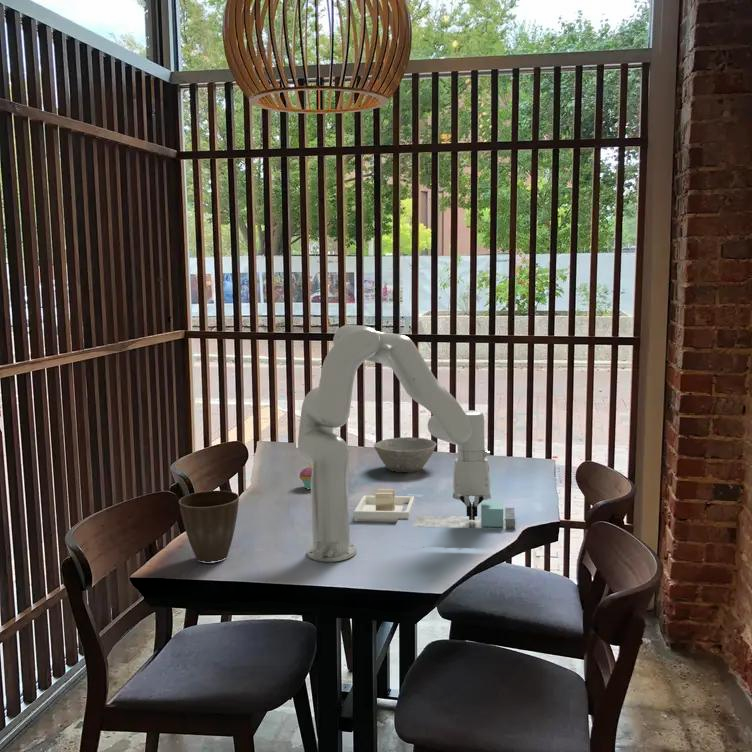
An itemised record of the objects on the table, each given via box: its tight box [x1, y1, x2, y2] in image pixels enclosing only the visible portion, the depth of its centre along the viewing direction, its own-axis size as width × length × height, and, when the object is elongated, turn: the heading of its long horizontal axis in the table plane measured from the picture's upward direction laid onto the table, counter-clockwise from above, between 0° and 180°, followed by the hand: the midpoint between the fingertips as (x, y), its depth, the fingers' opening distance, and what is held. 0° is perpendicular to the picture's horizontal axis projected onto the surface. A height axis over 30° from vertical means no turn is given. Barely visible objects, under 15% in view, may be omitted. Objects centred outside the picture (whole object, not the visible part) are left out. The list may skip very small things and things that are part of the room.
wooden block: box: [374, 488, 396, 511], centre depth 224 cm, size 5×5×6 cm
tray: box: [353, 495, 416, 523], centre depth 224 cm, size 16×16×3 cm
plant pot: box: [178, 490, 240, 562], centre depth 191 cm, size 15×15×16 cm
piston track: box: [412, 507, 516, 530], centre depth 211 cm, size 10×28×4 cm, turn 81°
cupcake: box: [299, 463, 313, 489], centre depth 254 cm, size 9×8×12 cm
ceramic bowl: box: [373, 437, 437, 473], centre depth 274 cm, size 22×23×10 cm
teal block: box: [480, 499, 504, 527], centre depth 209 cm, size 8×6×5 cm
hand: (472, 518), depth 210 cm, fingers closed
